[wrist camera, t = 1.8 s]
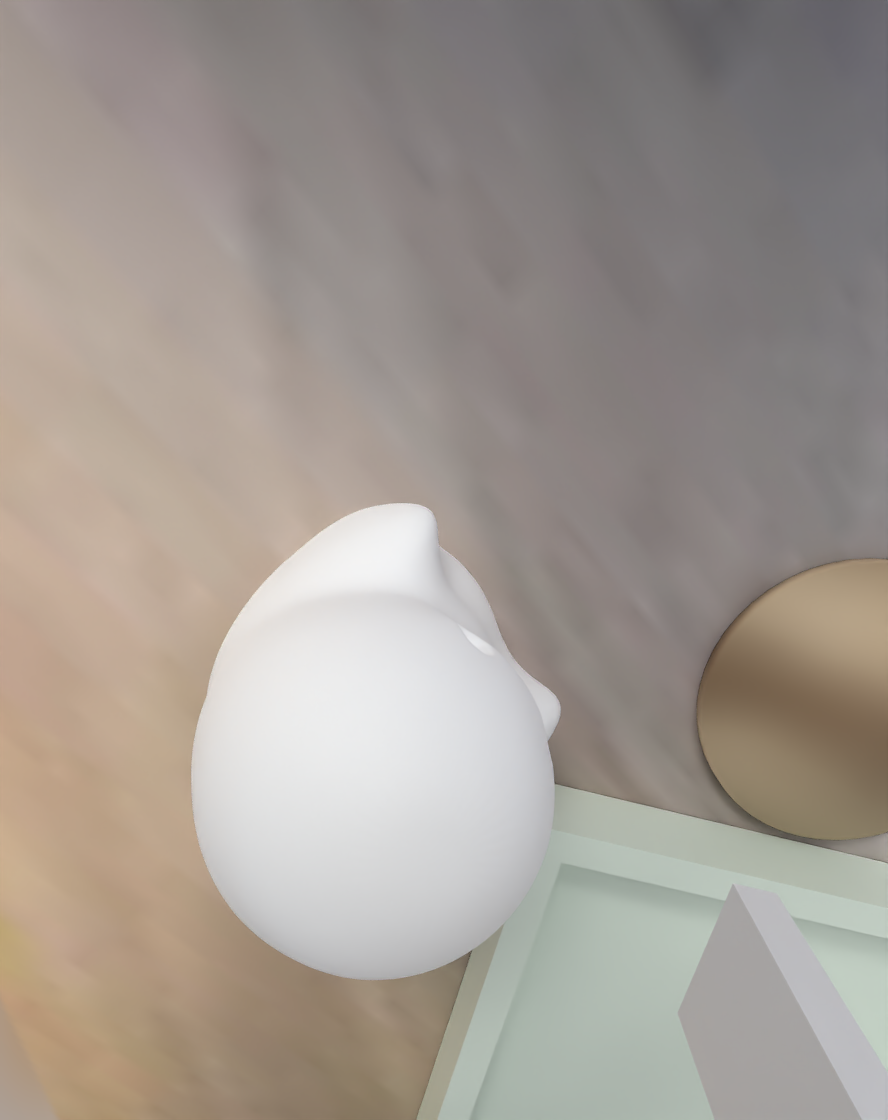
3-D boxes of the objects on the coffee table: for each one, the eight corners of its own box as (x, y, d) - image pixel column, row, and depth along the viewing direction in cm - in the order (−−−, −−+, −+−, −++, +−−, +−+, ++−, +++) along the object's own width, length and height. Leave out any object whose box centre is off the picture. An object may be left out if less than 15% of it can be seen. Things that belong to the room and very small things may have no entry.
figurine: (561, 648, 21) (685, 995, 10) (353, 770, 22) (243, 1206, 11) (429, 448, 20) (389, 575, 8) (213, 590, 21) (-85, 875, 9)
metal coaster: (710, 558, 20) (717, 563, 20) (1030, 557, 20) (1044, 562, 20) (684, 829, 23) (689, 839, 22) (969, 830, 23) (981, 840, 22)
